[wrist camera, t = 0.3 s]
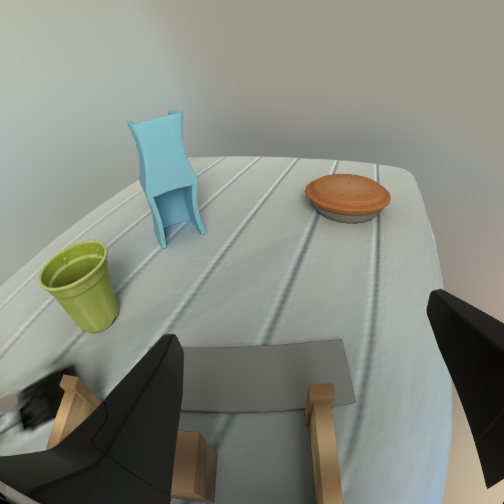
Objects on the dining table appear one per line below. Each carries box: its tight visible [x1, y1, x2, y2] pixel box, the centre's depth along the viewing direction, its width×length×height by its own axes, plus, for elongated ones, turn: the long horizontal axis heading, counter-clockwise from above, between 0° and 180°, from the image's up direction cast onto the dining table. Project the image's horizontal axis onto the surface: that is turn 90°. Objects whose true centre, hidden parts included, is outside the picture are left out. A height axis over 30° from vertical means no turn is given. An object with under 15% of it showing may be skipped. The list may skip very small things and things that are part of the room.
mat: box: [149, 339, 355, 413], centre depth 26 cm, size 7×20×1 cm, turn 90°
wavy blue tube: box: [127, 110, 207, 249], centre depth 44 cm, size 8×8×20 cm
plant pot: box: [38, 241, 119, 333], centre depth 31 cm, size 9×9×9 cm
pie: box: [305, 174, 390, 224], centre depth 50 cm, size 15×16×5 cm
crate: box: [46, 375, 343, 504], centre depth 15 cm, size 14×23×5 cm, turn 90°
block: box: [170, 431, 217, 503], centre depth 16 cm, size 4×4×6 cm
